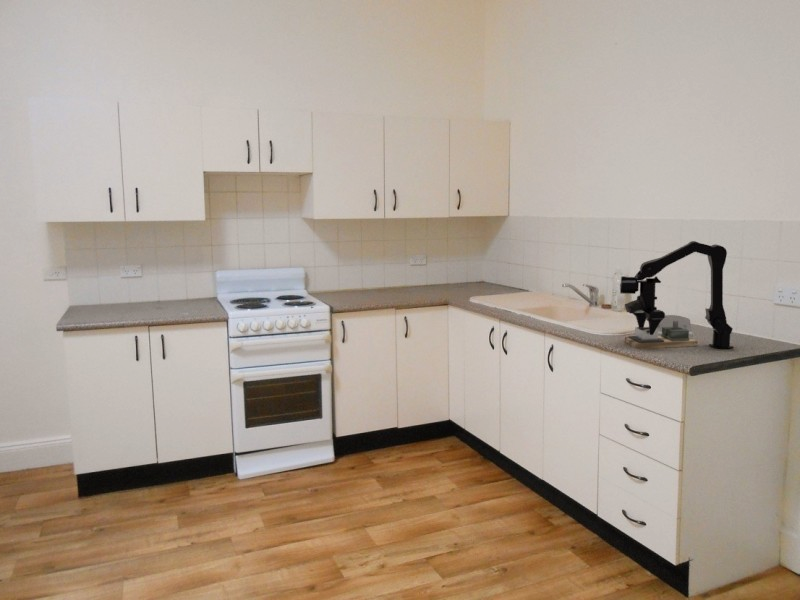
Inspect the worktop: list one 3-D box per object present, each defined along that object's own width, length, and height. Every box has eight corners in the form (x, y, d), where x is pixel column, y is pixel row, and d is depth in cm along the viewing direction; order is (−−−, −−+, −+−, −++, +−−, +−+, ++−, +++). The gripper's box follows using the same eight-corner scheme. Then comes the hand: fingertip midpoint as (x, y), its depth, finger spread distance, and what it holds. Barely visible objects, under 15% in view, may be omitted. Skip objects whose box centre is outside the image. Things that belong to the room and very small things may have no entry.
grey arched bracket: (651, 337, 268) (650, 314, 270) (649, 339, 273) (648, 315, 274) (694, 338, 265) (693, 314, 267) (691, 339, 270) (689, 316, 271)
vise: (697, 346, 251) (698, 323, 250) (637, 348, 250) (638, 326, 248) (680, 339, 263) (681, 317, 262) (624, 341, 262) (625, 320, 260)
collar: (657, 339, 252) (657, 329, 252) (641, 340, 252) (642, 330, 251) (650, 336, 259) (650, 326, 258) (634, 336, 258) (635, 327, 258)
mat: (664, 342, 251) (664, 340, 251) (639, 343, 250) (639, 341, 250) (652, 336, 261) (652, 335, 261) (628, 337, 260) (628, 336, 260)
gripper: (617, 291, 261) (616, 328, 264) (638, 298, 243) (636, 338, 245) (644, 290, 262) (643, 327, 264) (666, 297, 244) (664, 337, 246)
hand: (646, 332), depth 255 cm, fingers open, 9 cm apart
